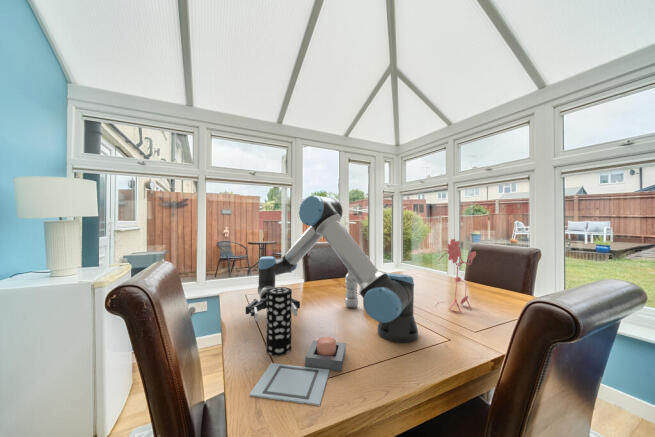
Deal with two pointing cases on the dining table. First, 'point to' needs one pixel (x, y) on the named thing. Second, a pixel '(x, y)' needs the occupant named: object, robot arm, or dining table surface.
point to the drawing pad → (292, 384)
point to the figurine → (453, 255)
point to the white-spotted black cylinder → (279, 321)
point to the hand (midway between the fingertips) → (276, 314)
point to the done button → (326, 346)
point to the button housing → (325, 358)
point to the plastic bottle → (351, 291)
